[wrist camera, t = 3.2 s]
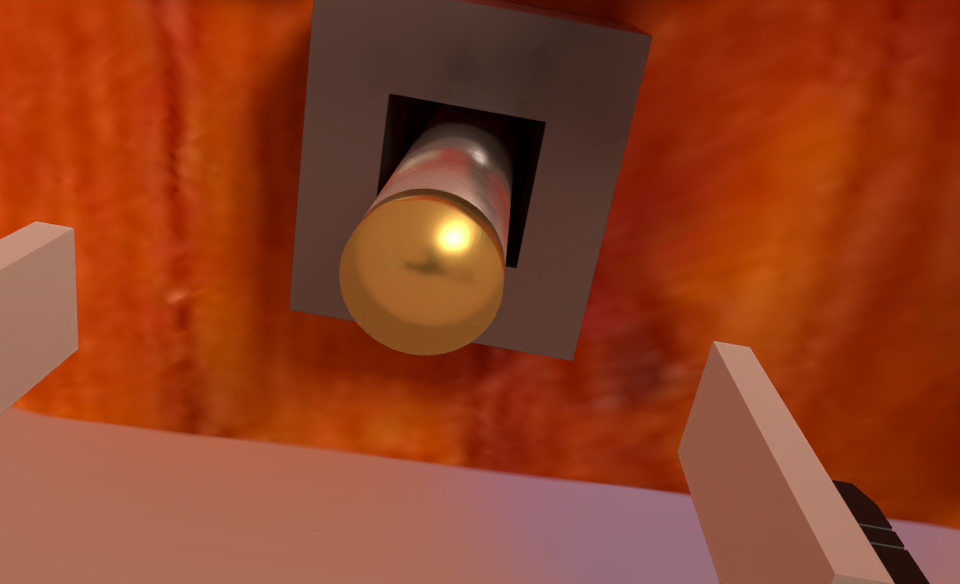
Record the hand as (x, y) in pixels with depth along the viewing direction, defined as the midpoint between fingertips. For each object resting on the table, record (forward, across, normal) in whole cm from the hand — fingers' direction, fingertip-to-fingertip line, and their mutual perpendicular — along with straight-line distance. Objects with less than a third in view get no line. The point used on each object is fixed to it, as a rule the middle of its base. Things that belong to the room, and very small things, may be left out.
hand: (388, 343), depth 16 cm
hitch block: (+18, 0, 0) cm, 18 cm away
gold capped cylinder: (+18, 0, 0) cm, 18 cm away
